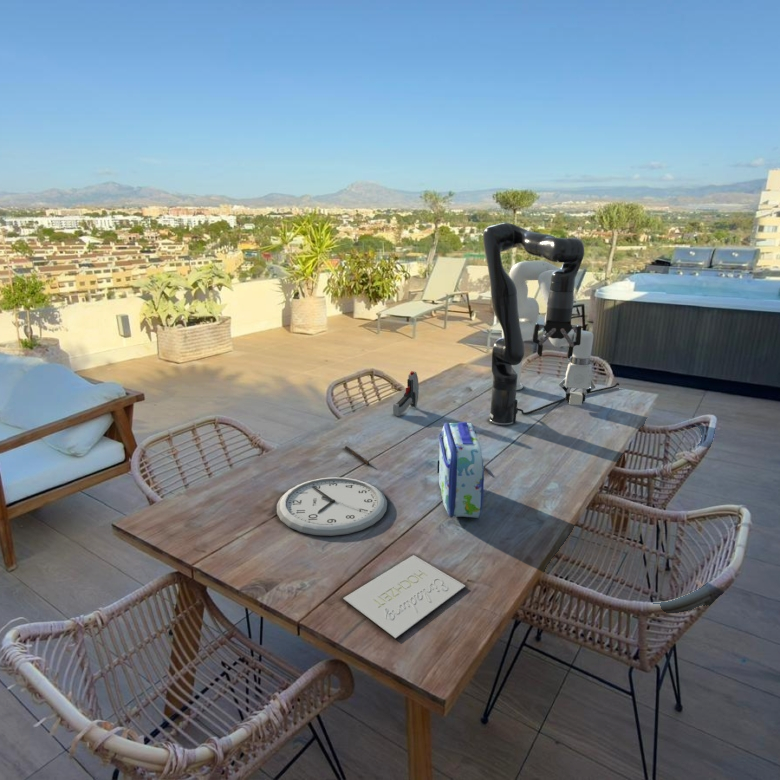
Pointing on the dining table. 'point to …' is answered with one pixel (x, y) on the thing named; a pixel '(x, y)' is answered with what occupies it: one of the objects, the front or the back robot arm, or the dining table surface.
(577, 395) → the block
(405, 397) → the toy gun
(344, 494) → the wall clock
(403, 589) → the invitation card
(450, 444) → the lunch box
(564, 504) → the dining table surface
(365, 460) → the brown thin rod
